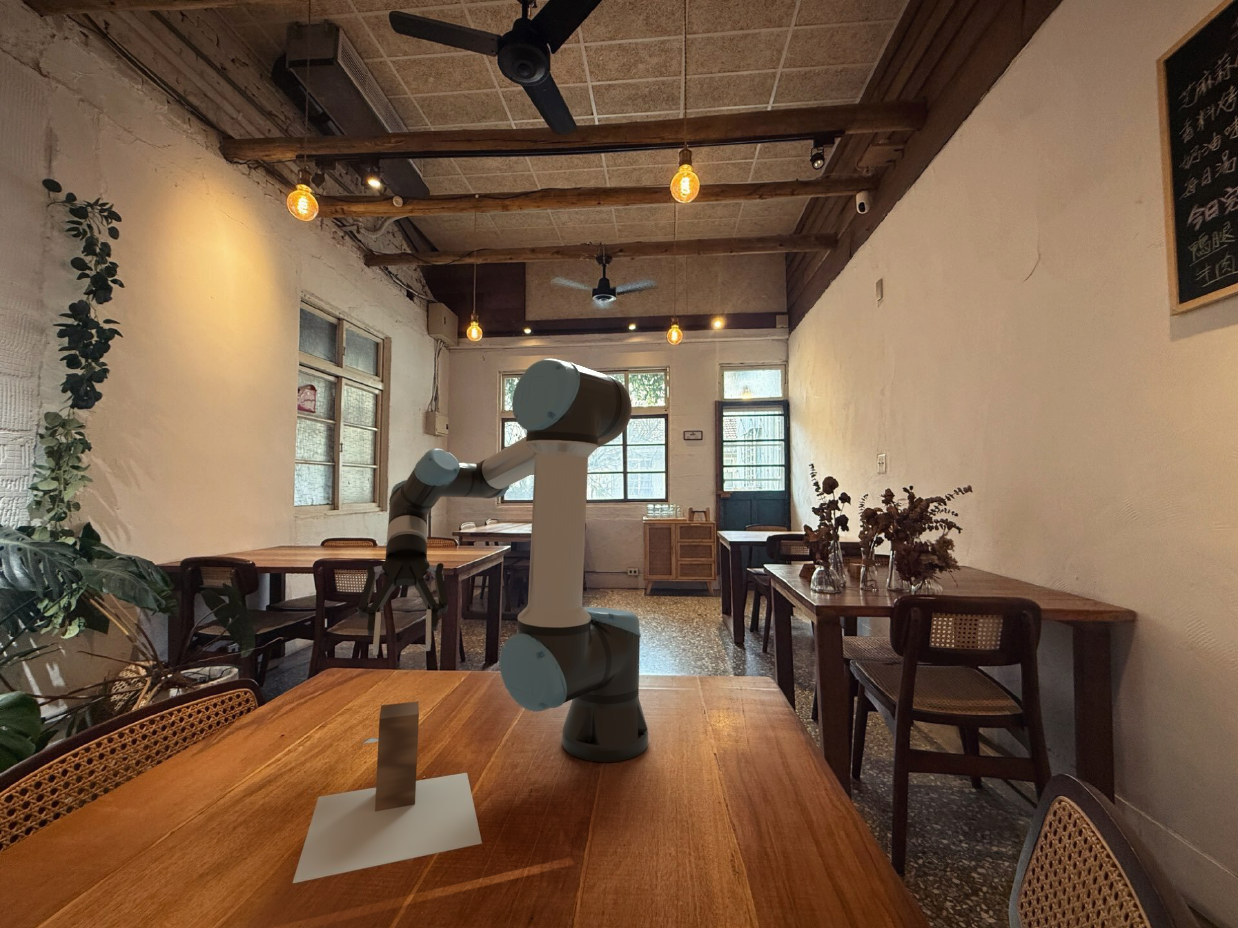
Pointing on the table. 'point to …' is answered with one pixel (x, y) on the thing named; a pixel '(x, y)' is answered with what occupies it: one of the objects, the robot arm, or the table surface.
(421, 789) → the mat
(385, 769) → the walnut block
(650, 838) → the table surface
